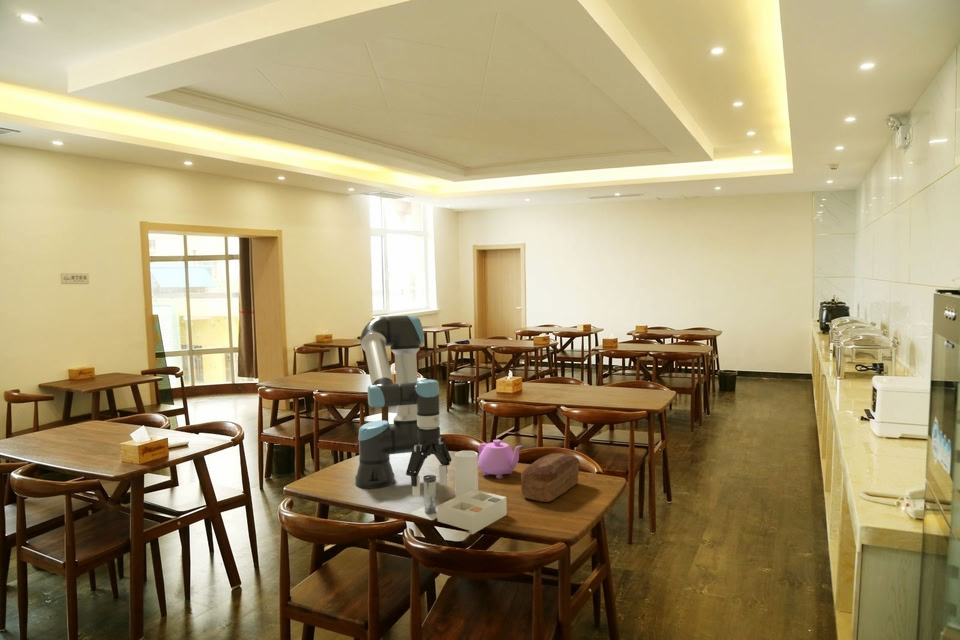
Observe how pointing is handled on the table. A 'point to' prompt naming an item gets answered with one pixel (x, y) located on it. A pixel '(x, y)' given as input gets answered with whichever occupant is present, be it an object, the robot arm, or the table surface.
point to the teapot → (497, 458)
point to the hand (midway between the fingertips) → (430, 489)
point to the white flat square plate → (421, 514)
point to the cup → (466, 471)
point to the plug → (429, 494)
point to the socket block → (472, 510)
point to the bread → (550, 477)
